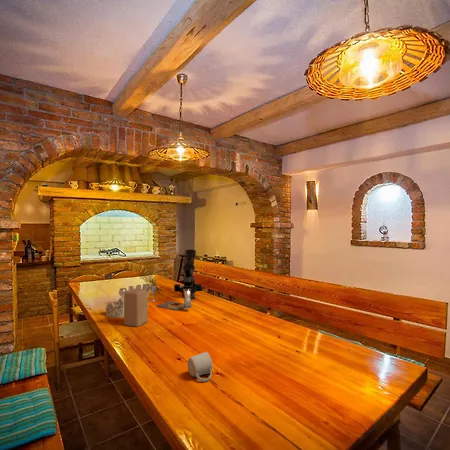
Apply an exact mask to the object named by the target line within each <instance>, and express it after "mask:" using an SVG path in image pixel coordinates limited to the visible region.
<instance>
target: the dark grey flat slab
mask: <svg viewBox="0 0 450 450" xmlns="http://www.w3.org/2000/svg"><path fill="white" fill-rule="evenodd" d="M156 308H162V309H167V310H173V311H176V312H177V311H181V310H184V309H185V308H184V302H177V301H174V300H173V301H172V300H169V301H166V302H163V303H160V304H158V305H156Z"/></svg>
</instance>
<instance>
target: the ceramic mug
mask: <svg viewBox="0 0 450 450" xmlns="http://www.w3.org/2000/svg"><path fill="white" fill-rule="evenodd" d="M186 364H187V369H188V373H189V374H190V376H191V377H193V378H194V377H196V379H197V380H198V381H200V382H203V383H205V382H209V381H210V380H211V378H212V372H213V362H212V357H211V355H210V354H209V352H207V351H204V352H202V353H199V354H196V355H193V356H191V357H189V358H188V359H187V363H186ZM207 374H209V376H208V377H207V378H202V377H200V376H202V375H207Z"/></svg>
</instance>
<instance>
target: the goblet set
mask: <svg viewBox="0 0 450 450" xmlns="http://www.w3.org/2000/svg"><path fill="white" fill-rule="evenodd" d="M149 285H150V286H149ZM156 287H157V286H156V285H152V284H150V283H144V284H142V285H141V284H136V287H135V288H136V289H146V290H147V294H148V293H149V291H150V292H151V293H152V299H151V300H150V301H149V300H147V303H149V302H156V301H157V300H156V299H155V298H154V297H155V292H156V291H157V289H156ZM131 289H134V286H133V285H129V286H128V290H131ZM128 290H127V288H125V287H124V288H123V287H121V288H119V290H118V295H119V296H120V297H121V296H122V293H124V292H125V291H128Z"/></svg>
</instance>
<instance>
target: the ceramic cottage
mask: <svg viewBox="0 0 450 450" xmlns="http://www.w3.org/2000/svg"><path fill="white" fill-rule="evenodd" d="M105 311H106V313H105V317H110V318H117V319H118V318H124V293H122V296H120V297H119V299H118V300H115V301H114V302H113V300H110V301H109V302H107V304H106V306H105Z"/></svg>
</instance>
